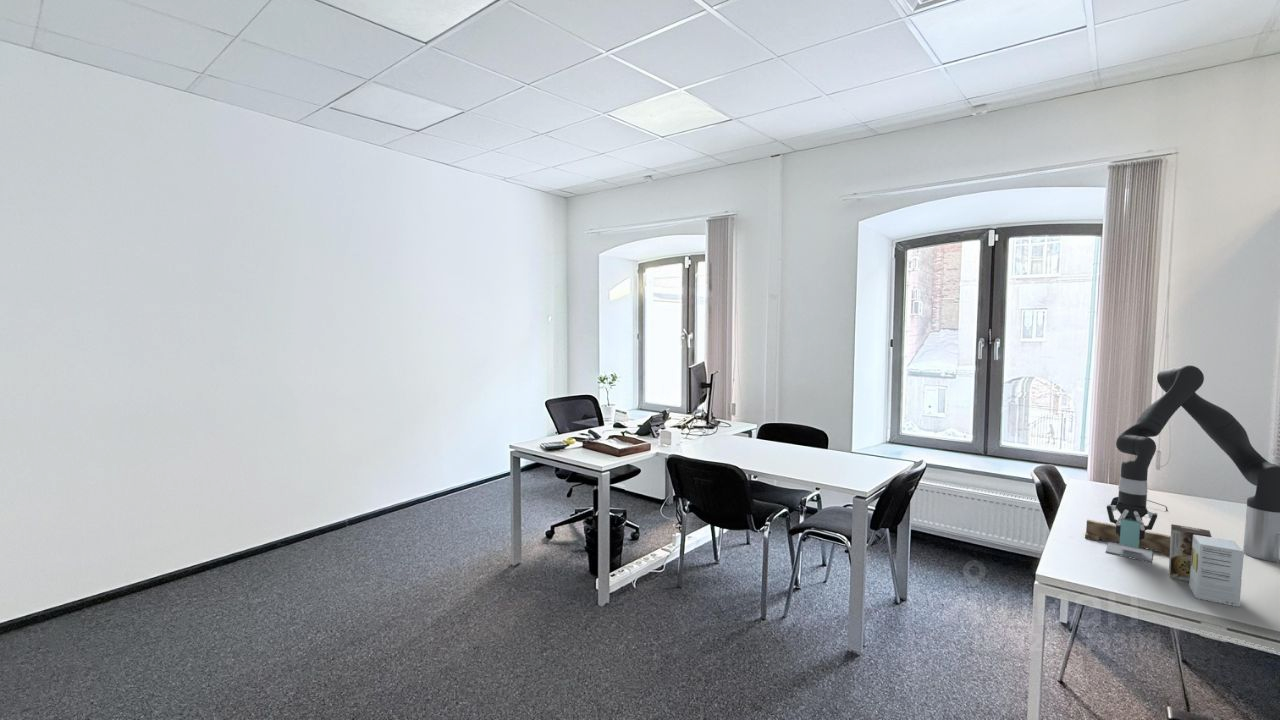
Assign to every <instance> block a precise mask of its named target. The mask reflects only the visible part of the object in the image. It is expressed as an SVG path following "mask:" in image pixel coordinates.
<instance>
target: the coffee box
mask: <svg viewBox="0 0 1280 720" xmlns="http://www.w3.org/2000/svg"><path fill="white" fill-rule="evenodd" d="M1193 535H1200V536H1206V537H1212V534H1211V531H1210V530H1208V529H1203V528H1198V527H1197V528H1196V527H1191V526H1185V525H1179V524H1172V523H1171V526H1170V536H1171V540H1170V556H1169V558H1168V559H1169V560H1168V562H1169V563H1168V577H1169V576H1170V577H1172V578H1171V579H1175V578H1176V579H1177V580H1181V581H1184V582H1190V569H1191V556H1192V542H1193ZM1212 538H1213V537H1212ZM1170 577H1169V578H1170ZM1176 579H1175V580H1176Z"/></svg>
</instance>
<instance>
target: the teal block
mask: <svg viewBox="0 0 1280 720" xmlns="http://www.w3.org/2000/svg"><path fill="white" fill-rule="evenodd" d="M1139 534H1140V522H1137V520H1133V519H1127V518H1124V519H1121V530H1120V543H1119V544H1122V545H1127V546H1132V547H1136V548H1140V547H1139Z"/></svg>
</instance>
